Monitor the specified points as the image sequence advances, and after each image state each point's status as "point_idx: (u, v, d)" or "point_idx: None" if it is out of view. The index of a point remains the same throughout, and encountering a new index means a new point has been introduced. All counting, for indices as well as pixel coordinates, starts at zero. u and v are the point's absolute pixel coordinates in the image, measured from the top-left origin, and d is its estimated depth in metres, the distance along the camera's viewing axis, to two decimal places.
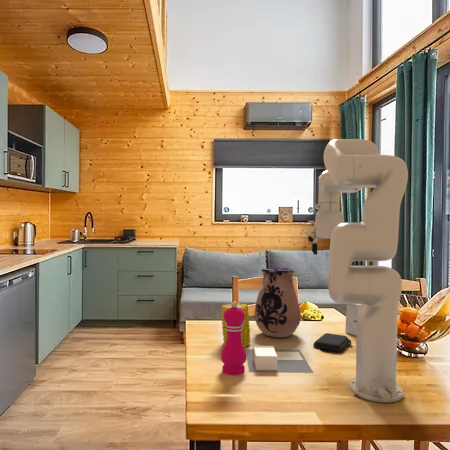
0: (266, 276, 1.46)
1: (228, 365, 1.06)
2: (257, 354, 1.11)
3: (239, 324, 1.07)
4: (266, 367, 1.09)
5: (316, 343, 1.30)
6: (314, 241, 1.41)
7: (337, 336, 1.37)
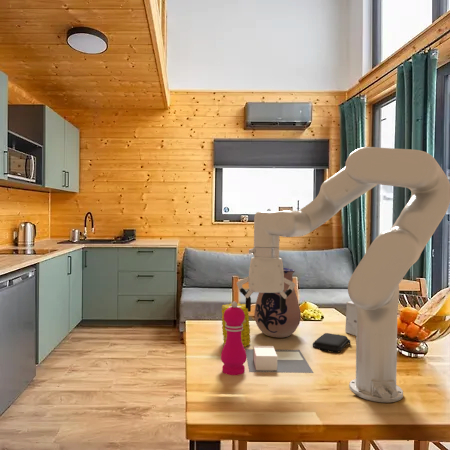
0: None
1: (228, 365, 1.06)
2: (257, 354, 1.11)
3: (239, 324, 1.07)
4: (266, 367, 1.09)
5: (315, 343, 1.31)
6: (247, 295, 1.13)
7: (336, 336, 1.37)
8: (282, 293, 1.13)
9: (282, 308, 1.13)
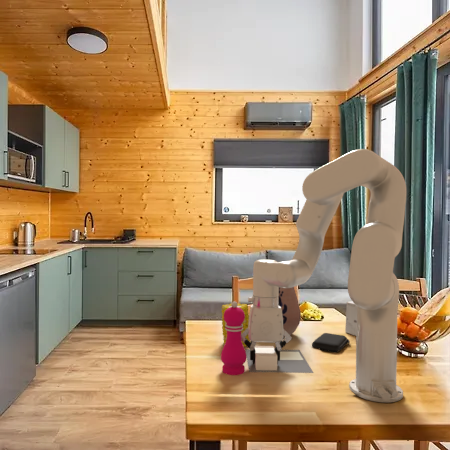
0: None
1: (228, 365, 1.06)
2: (257, 354, 1.11)
3: (239, 324, 1.07)
4: (266, 367, 1.09)
5: (315, 343, 1.31)
6: (252, 347, 1.13)
7: (335, 336, 1.37)
8: (277, 344, 1.13)
9: None
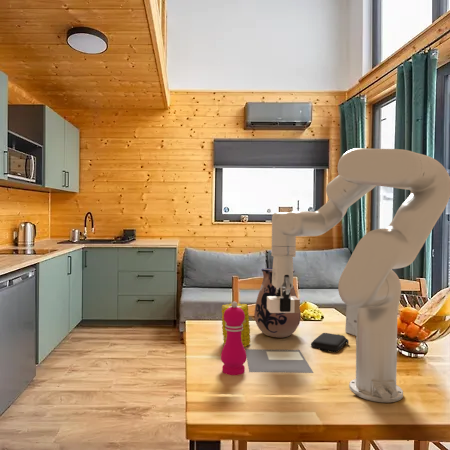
0: (266, 276, 1.46)
1: (228, 365, 1.06)
2: (271, 296, 1.23)
3: (239, 324, 1.07)
4: (268, 308, 1.21)
5: (314, 343, 1.31)
6: (276, 291, 1.25)
7: (334, 336, 1.37)
8: (281, 292, 1.18)
9: (280, 307, 1.18)
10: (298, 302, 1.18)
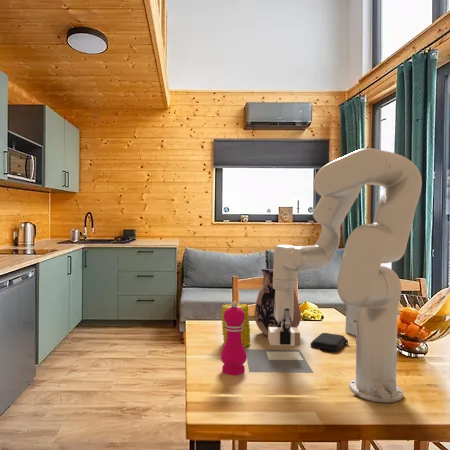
0: (266, 276, 1.46)
1: (228, 365, 1.06)
2: (272, 327, 1.25)
3: (239, 324, 1.07)
4: (269, 339, 1.22)
5: (313, 343, 1.31)
6: None
7: (334, 336, 1.37)
8: (281, 325, 1.19)
9: None
10: (298, 335, 1.19)
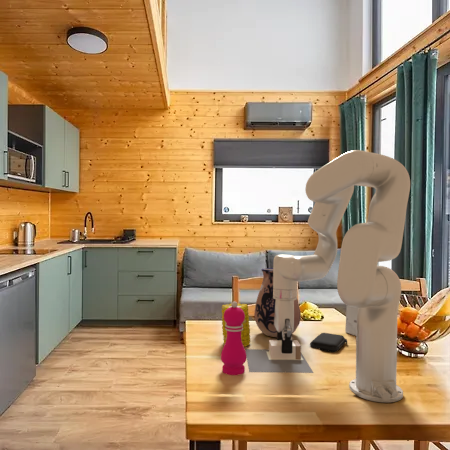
0: (266, 276, 1.46)
1: (228, 365, 1.06)
2: (273, 340, 1.24)
3: (239, 324, 1.07)
4: (270, 353, 1.22)
5: (313, 343, 1.31)
6: None
7: (333, 335, 1.37)
8: (282, 334, 1.17)
9: None
10: (299, 348, 1.19)
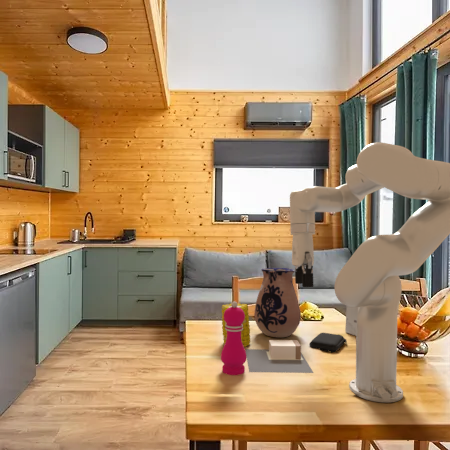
0: (266, 276, 1.46)
1: (228, 365, 1.06)
2: (273, 340, 1.24)
3: (239, 324, 1.07)
4: (270, 353, 1.22)
5: (312, 342, 1.31)
6: (295, 268, 1.25)
7: (333, 335, 1.38)
8: (302, 268, 1.15)
9: (302, 282, 1.15)
10: (299, 348, 1.19)
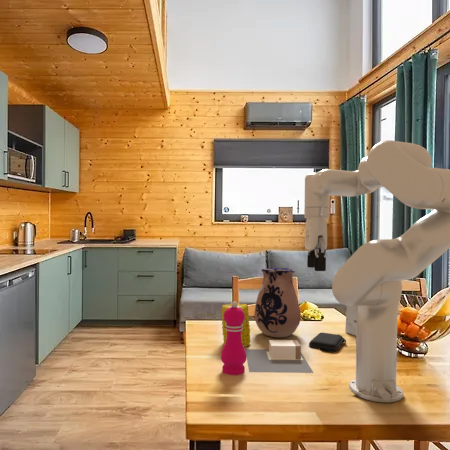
0: (266, 276, 1.46)
1: (228, 365, 1.06)
2: (273, 340, 1.24)
3: (239, 324, 1.07)
4: (270, 353, 1.22)
5: (312, 342, 1.31)
6: (308, 252, 1.25)
7: (332, 335, 1.38)
8: (315, 252, 1.14)
9: (314, 266, 1.14)
10: (299, 348, 1.19)
